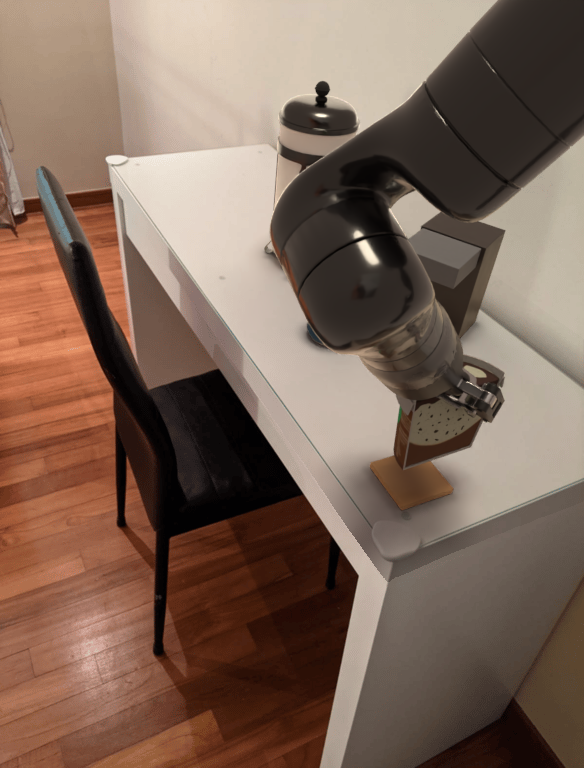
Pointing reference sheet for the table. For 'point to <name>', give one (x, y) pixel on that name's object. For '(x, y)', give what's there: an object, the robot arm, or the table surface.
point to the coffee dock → (458, 264)
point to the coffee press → (310, 133)
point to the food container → (439, 421)
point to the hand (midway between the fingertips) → (442, 389)
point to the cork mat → (411, 482)
